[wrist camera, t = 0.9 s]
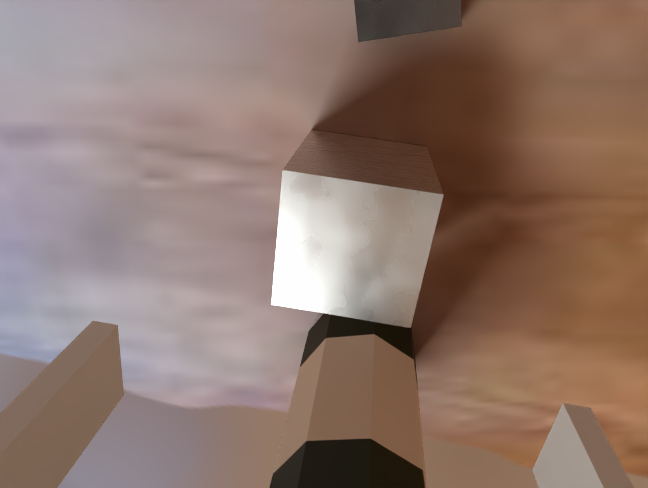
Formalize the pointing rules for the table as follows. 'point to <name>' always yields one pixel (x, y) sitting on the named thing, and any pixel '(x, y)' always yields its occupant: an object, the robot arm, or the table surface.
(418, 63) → the table surface
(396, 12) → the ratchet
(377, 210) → the grey rectangular block
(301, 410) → the wine bottle
